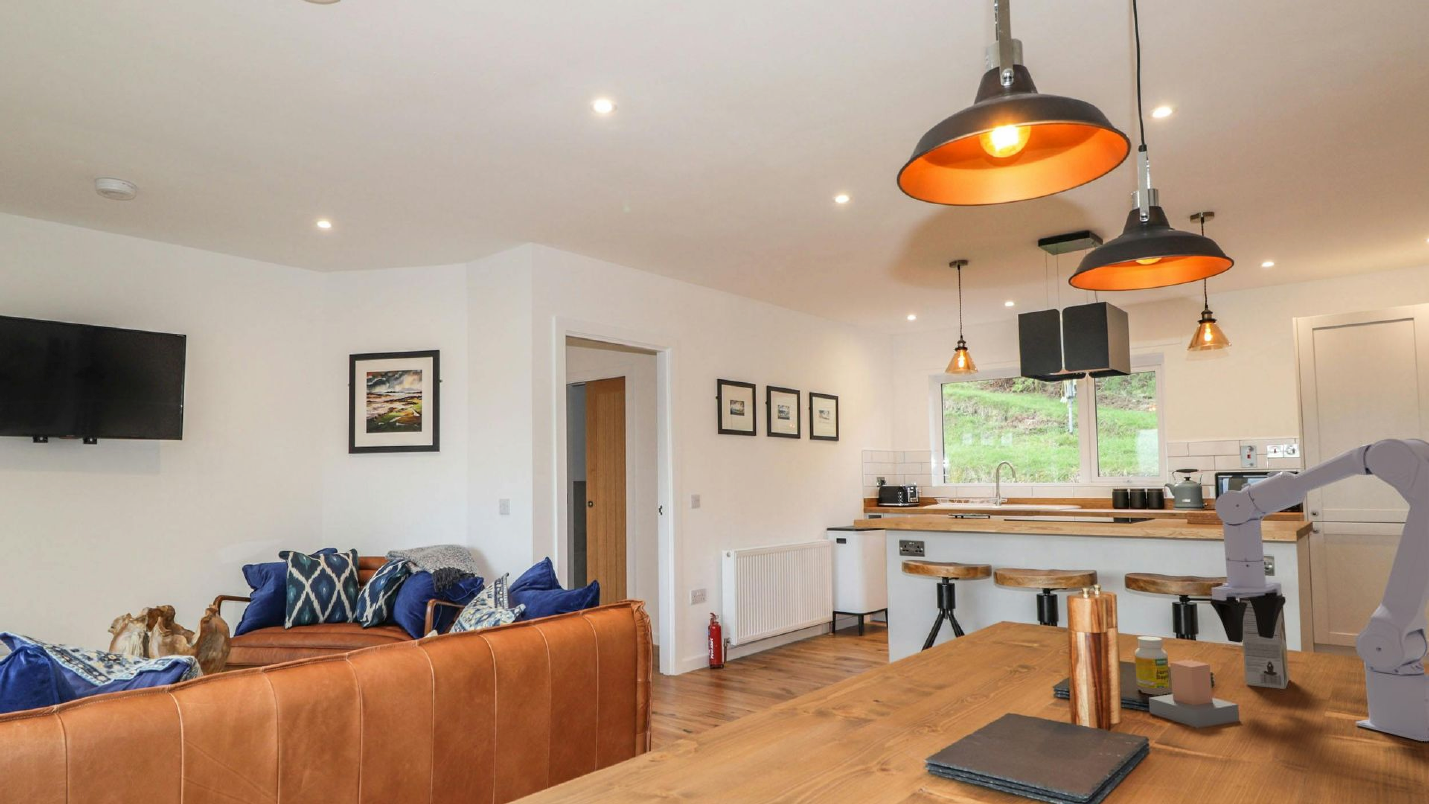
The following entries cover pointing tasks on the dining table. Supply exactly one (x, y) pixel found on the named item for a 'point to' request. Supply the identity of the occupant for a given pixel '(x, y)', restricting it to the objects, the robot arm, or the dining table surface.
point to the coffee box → (1264, 652)
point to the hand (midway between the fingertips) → (1250, 639)
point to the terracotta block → (1191, 682)
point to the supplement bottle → (1151, 663)
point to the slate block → (1194, 711)
